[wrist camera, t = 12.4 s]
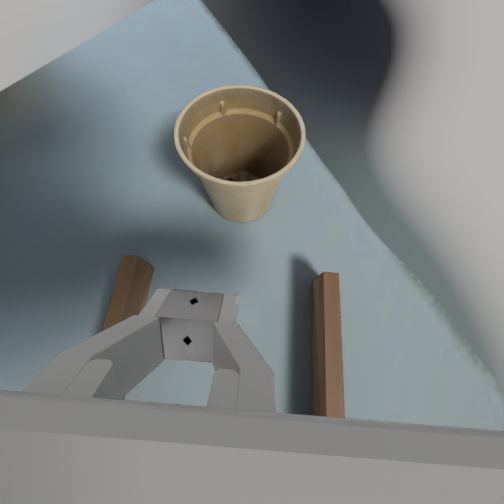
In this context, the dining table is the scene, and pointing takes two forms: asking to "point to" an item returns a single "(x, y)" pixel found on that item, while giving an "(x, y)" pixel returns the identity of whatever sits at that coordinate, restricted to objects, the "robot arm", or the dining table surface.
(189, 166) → the flower pot
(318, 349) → the wooden u-shaped frame
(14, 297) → the dining table surface
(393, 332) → the dining table surface
